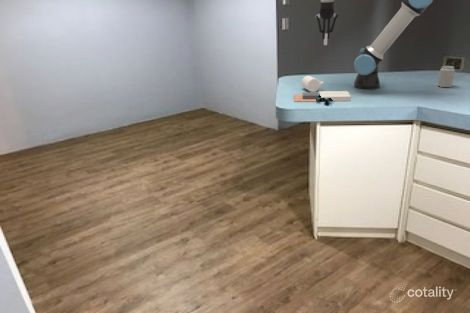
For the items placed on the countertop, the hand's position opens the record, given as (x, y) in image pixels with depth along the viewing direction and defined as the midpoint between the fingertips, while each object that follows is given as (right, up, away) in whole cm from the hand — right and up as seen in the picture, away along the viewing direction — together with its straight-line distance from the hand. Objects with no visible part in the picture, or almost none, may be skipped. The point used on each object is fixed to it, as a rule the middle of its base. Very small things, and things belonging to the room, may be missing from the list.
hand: (325, 44), depth 218 cm
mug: (-5, -25, +9) cm, 27 cm away
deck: (+2, -33, -10) cm, 35 cm away
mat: (-13, -33, -8) cm, 36 cm away
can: (+72, -24, +4) cm, 76 cm away
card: (-11, -33, -9) cm, 35 cm away
